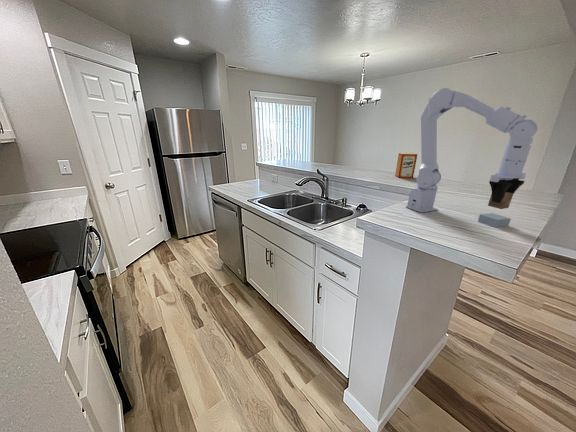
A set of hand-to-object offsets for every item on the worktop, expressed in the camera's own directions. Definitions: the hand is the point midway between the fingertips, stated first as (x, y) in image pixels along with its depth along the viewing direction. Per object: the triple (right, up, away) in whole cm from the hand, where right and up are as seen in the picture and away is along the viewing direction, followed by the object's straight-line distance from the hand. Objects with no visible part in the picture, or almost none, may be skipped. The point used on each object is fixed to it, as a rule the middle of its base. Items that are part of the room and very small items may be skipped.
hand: (500, 201), depth 80 cm
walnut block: (0, -2, +1) cm, 2 cm away
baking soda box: (+8, +21, +82) cm, 85 cm away
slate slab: (0, -8, +3) cm, 8 cm away
